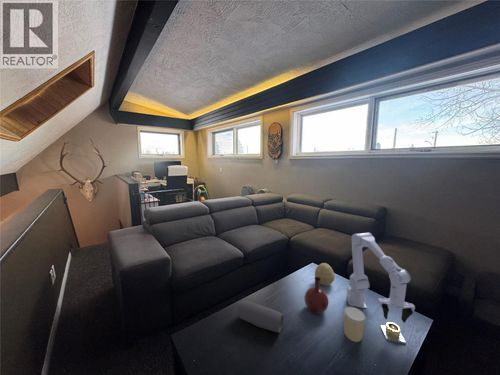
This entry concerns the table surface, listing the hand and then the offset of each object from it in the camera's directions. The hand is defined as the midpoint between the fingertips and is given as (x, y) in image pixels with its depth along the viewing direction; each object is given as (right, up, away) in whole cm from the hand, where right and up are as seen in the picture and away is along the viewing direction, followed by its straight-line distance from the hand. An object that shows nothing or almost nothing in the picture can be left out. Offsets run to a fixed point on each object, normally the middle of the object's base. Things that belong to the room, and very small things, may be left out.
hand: (394, 319), depth 97 cm
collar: (0, -8, +1) cm, 8 cm away
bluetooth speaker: (-66, -8, +7) cm, 66 cm away
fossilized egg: (-19, -3, +41) cm, 46 cm away
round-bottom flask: (-33, -7, +17) cm, 38 cm away
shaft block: (0, -9, +1) cm, 9 cm away
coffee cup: (-20, -9, +1) cm, 22 cm away
